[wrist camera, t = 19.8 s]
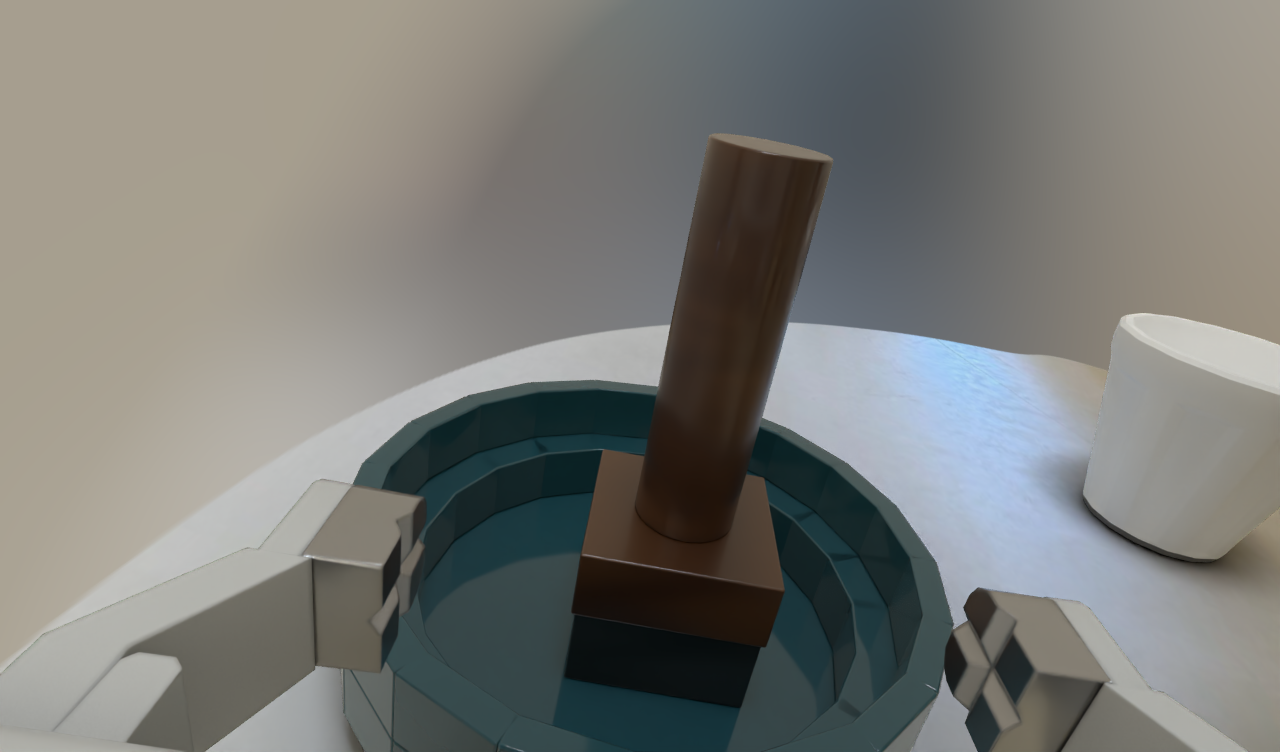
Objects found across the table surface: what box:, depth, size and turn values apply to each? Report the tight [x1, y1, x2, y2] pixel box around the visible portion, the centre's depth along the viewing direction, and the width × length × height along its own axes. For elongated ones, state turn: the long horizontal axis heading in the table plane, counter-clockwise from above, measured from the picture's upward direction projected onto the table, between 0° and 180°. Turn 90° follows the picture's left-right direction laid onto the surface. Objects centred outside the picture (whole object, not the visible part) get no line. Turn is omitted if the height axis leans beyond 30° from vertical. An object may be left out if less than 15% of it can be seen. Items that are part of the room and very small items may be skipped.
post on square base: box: [564, 133, 833, 707], centre depth 19 cm, size 5×5×14 cm
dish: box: [340, 380, 954, 752], centre depth 21 cm, size 17×17×5 cm
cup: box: [1083, 313, 1280, 562], centre depth 33 cm, size 10×10×9 cm
